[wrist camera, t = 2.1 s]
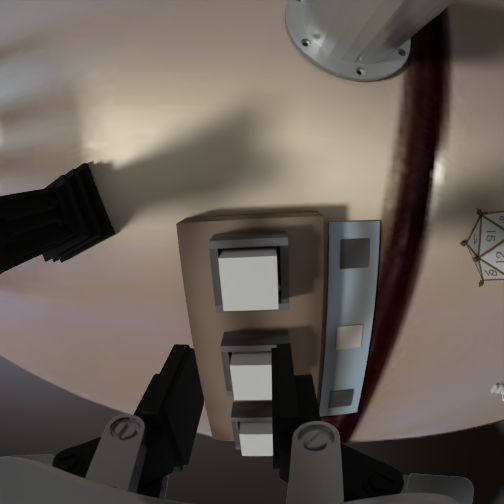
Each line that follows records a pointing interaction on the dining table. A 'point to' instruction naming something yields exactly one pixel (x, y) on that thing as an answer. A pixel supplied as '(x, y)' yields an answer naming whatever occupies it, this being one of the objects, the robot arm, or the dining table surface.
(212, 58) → the dining table surface
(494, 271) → the game die
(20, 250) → the chess piece
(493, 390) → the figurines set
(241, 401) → the board
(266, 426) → the button
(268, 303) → the button
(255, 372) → the button middle
